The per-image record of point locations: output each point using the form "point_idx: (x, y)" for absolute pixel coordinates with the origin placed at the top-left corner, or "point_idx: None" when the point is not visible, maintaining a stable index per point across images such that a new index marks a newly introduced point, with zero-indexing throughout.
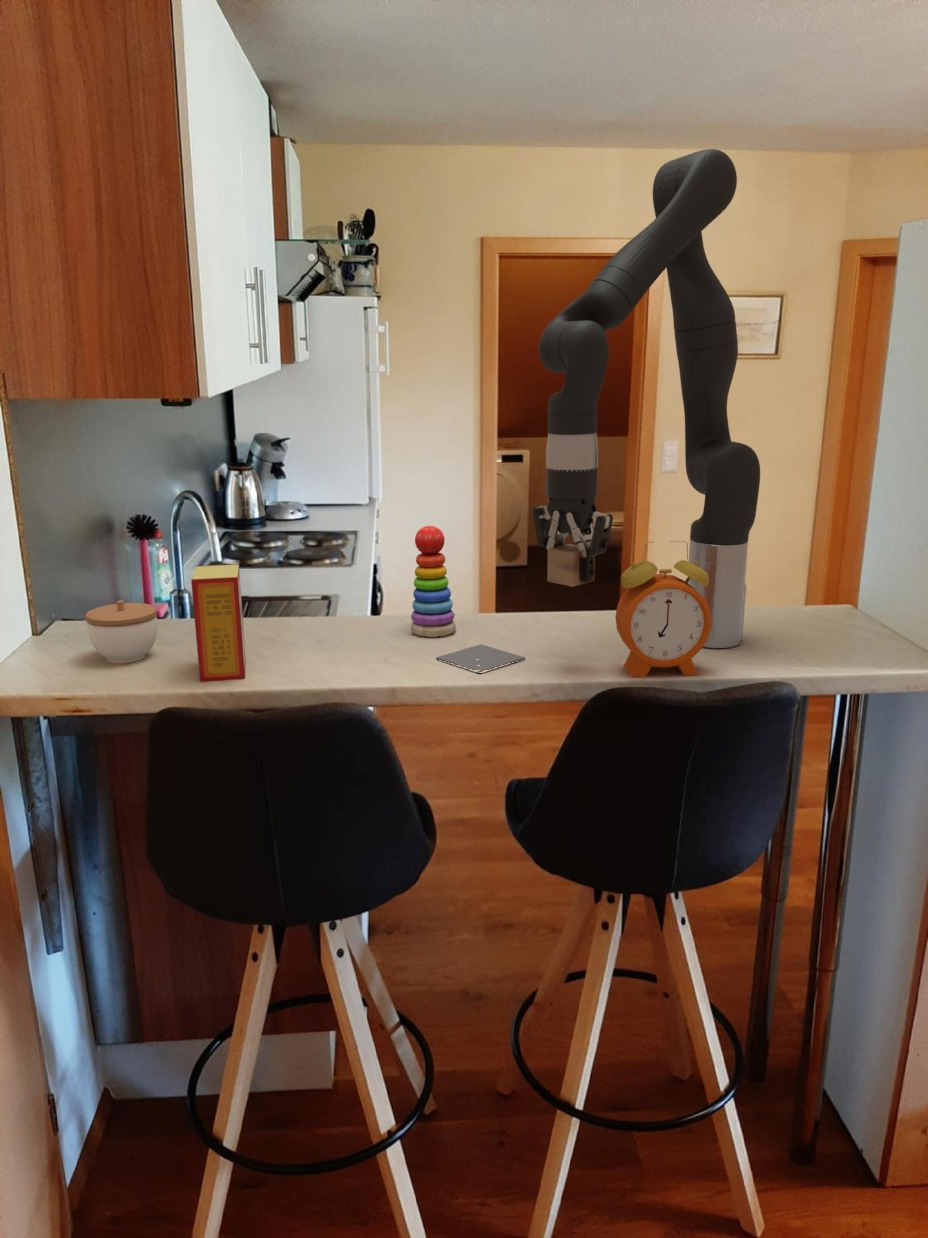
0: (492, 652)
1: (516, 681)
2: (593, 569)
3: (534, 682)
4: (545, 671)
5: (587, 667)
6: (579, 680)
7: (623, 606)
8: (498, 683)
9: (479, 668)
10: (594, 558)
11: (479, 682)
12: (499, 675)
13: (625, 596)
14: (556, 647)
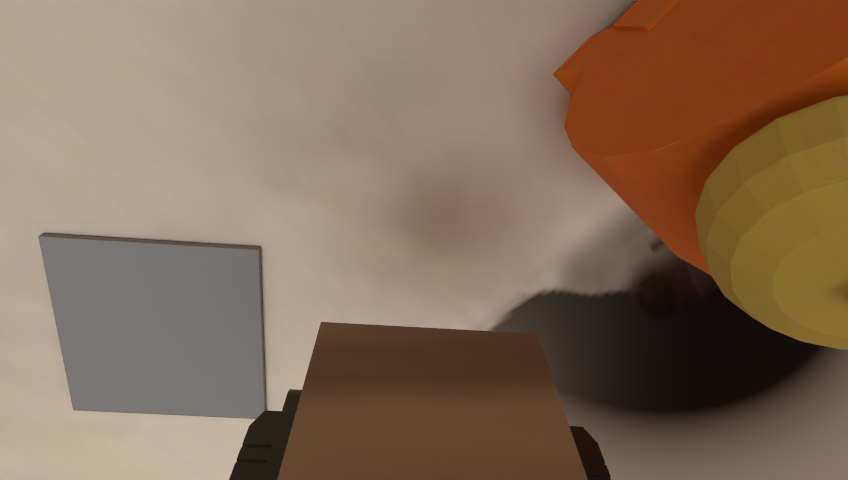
0: (144, 278)
1: None
2: (604, 472)
3: None
4: (383, 286)
5: (462, 173)
6: (511, 284)
7: (674, 226)
8: None
9: (242, 403)
10: (572, 444)
11: None
12: None
13: (679, 191)
14: (230, 55)
